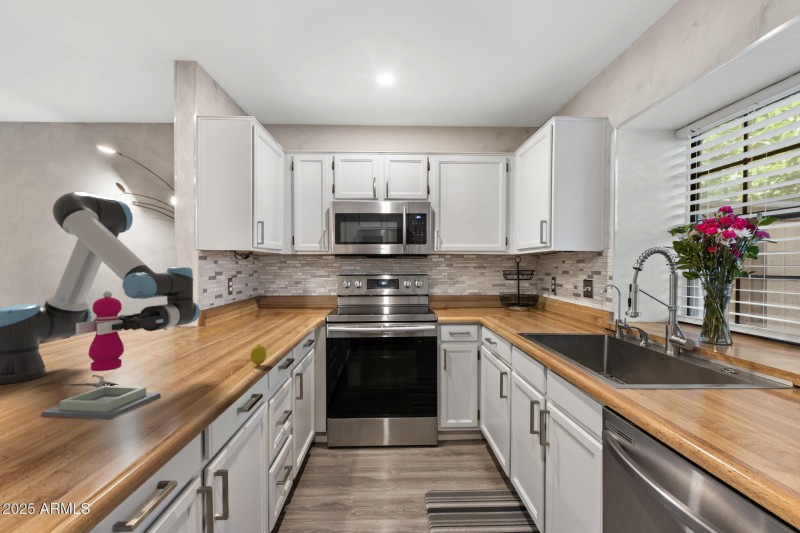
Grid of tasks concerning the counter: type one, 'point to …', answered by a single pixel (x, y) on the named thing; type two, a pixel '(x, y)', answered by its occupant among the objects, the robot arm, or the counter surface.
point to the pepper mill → (106, 336)
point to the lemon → (258, 354)
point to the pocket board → (102, 402)
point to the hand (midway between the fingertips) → (88, 329)
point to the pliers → (100, 384)
